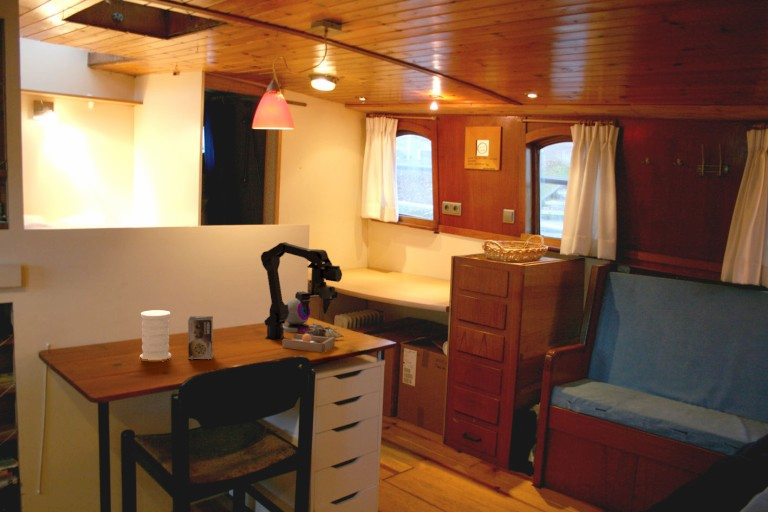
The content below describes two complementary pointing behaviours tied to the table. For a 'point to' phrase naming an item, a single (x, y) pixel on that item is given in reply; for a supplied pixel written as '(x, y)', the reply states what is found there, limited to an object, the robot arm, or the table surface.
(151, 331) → the decorative container
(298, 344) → the shallow open tray
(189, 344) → the coffee box
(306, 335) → the ball
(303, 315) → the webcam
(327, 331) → the figurine
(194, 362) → the table surface
